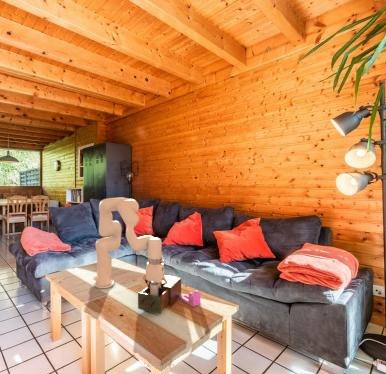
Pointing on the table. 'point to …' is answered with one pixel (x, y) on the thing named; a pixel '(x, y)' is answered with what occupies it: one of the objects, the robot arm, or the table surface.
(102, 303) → the table surface
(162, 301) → the drawer
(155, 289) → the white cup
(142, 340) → the table surface
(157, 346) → the table surface
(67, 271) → the table surface
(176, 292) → the cabinet
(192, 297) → the bracket
